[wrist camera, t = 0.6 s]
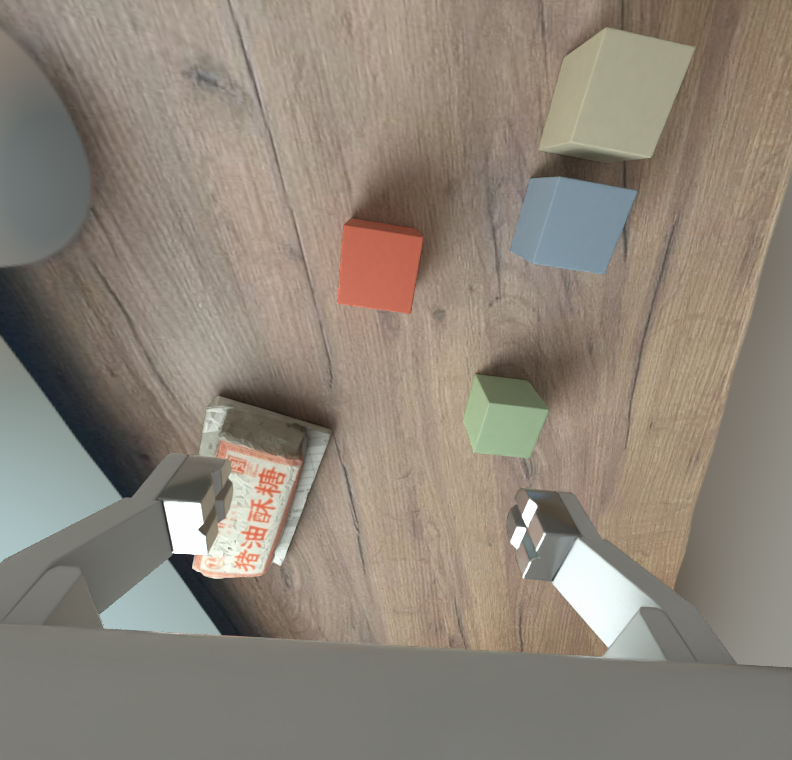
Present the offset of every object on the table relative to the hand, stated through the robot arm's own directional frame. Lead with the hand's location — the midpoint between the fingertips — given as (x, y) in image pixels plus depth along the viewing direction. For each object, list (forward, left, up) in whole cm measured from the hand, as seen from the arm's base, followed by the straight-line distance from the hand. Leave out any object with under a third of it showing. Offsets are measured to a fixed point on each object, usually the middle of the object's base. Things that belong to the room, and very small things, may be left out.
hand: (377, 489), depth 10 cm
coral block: (-3, -1, -19) cm, 19 cm away
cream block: (-13, +10, -19) cm, 25 cm away
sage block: (+7, +10, -19) cm, 22 cm away
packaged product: (+19, -10, -19) cm, 28 cm away
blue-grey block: (-7, +10, -19) cm, 22 cm away
